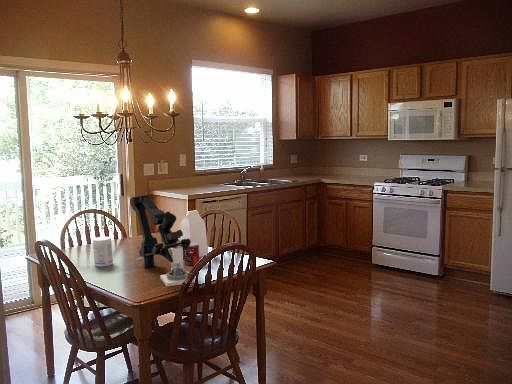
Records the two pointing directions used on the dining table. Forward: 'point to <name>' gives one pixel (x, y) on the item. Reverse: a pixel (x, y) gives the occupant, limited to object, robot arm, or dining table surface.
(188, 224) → the milk
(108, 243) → the supplement tub
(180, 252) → the tube
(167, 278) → the flange plate
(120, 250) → the dining table surface
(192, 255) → the canned food
